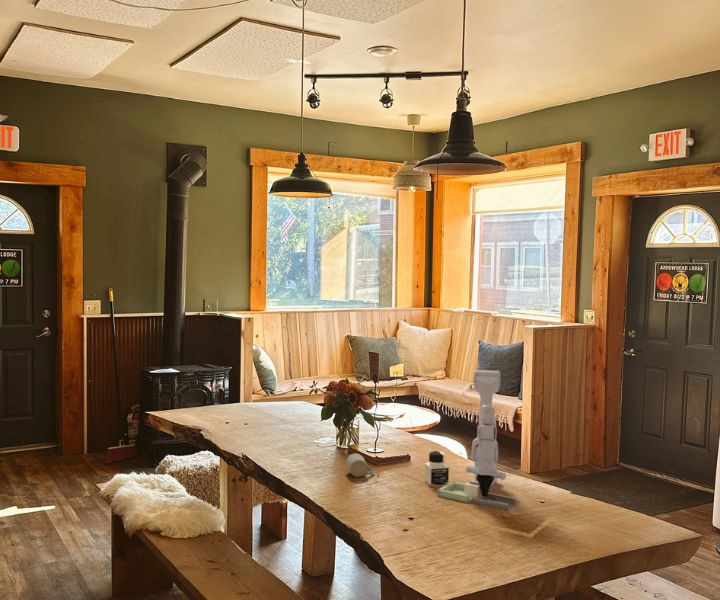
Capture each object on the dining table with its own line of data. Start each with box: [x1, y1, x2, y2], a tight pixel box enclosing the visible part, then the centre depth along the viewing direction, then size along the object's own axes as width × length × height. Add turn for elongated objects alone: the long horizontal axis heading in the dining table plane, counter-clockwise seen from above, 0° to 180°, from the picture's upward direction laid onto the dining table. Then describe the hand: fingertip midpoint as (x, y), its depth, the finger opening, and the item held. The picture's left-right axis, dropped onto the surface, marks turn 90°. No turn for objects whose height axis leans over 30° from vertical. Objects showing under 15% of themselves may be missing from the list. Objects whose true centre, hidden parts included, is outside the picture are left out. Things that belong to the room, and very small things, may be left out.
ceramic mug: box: [345, 453, 375, 478], centre depth 295 cm, size 11×8×8 cm
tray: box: [436, 481, 470, 503], centre depth 271 cm, size 12×12×3 cm
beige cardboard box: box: [464, 480, 483, 500], centre depth 267 cm, size 5×5×6 cm
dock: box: [467, 491, 521, 512], centre depth 263 cm, size 12×15×2 cm
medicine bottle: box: [424, 450, 450, 487], centre depth 286 cm, size 7×7×12 cm
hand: (484, 495), depth 265 cm, fingers closed
